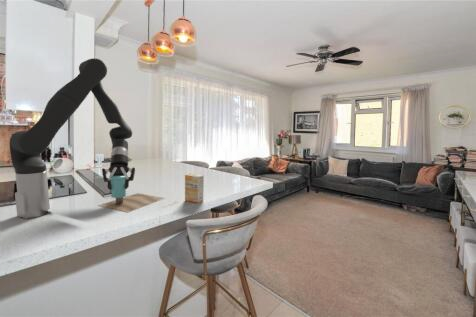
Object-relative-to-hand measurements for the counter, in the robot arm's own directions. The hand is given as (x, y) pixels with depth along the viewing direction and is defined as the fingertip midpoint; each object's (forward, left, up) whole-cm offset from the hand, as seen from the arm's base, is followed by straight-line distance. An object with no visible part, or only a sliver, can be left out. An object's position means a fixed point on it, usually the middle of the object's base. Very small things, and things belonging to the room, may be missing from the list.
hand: (118, 188), depth 103 cm
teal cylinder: (+1, +1, -4) cm, 4 cm away
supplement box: (+23, -24, -9) cm, 35 cm away
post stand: (+5, -3, -9) cm, 10 cm away
